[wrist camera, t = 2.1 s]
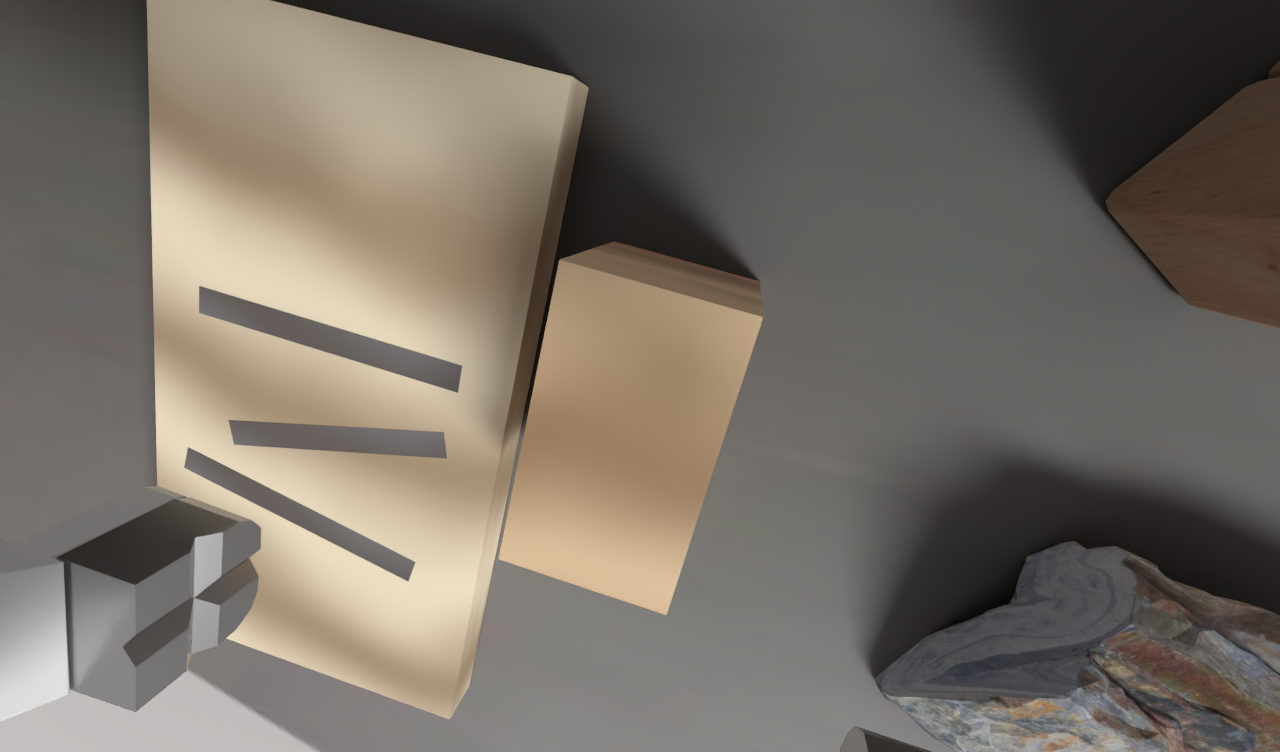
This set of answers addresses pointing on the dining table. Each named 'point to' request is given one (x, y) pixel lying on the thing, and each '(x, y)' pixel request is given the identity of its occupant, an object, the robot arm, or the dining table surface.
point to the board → (351, 317)
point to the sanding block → (628, 419)
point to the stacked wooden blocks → (1216, 208)
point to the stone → (1097, 665)
